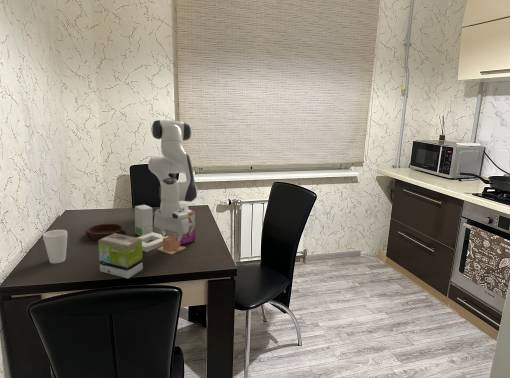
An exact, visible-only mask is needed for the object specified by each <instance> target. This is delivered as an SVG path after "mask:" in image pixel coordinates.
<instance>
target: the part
mask: <svg viewBox="0 0 510 378" xmlns="http://www.w3.org/2000/svg"><path fill="white" fill-rule="evenodd" d="M167 236H168V237H166V238H163V246H162V247H163V249H164V250H167V251H171V250H174V249H176V248H178V247H180V246H181V245H180V241H176V237H178V236H175V235H173V234H171V235H167Z"/></svg>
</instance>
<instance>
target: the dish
mask: <svg viewBox="0 0 510 378" xmlns="http://www.w3.org/2000/svg"><path fill="white" fill-rule="evenodd" d="M124 229H125V228H124V226H123V225H121V224H118V223H103V224H102V223H101V224H96V225H93V226H90V227H88V228H87V229H86V230H85V231H84V233H85V235H86V236H88V237H90V238H91V239H92V240H93V241H98V240H100V239H102V238H105V237H107V236H109V235H111V234H114V233H116V234H121V235H126V236H127V231H125V230H124Z"/></svg>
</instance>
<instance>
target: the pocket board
mask: <svg viewBox="0 0 510 378" xmlns="http://www.w3.org/2000/svg"><path fill="white" fill-rule="evenodd" d="M168 236H169V235H167V236H166V237H168ZM166 237H162V233H157V232H154V231H152V233H149V234H146V235H143V236H140V235H139V236H137V238H141V239H142V252H145V253H148V252H150V251H152V250H155V249H156V250H157V249H158V248H160V247H163V238H166Z"/></svg>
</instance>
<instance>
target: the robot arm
mask: <svg viewBox="0 0 510 378" xmlns="http://www.w3.org/2000/svg"><path fill="white" fill-rule="evenodd" d="M150 129H151V130H150V131H151V134H152V137H153V138H154V139H157V140H160V141H161V142H160V150H161V154H162V155H158V156H153V157H150V159H149V160H148V164H147V166H148V170H149V171H150V172H151V173H152V174H153V175H155V176H156V177H157V179H158V181H159V183H160V186H159V188H158V189H159V191H158V194H159V199H160V208H157V209H155V211H154V216H153V217H154V219H153V226H154V227H155V228H157V229H158V228H159V231H160V234H161V235H162V237H166V236H168V233H167V232H166V231H169V232H172V233H173V232H177V234H178V237H176V241H180V240H181V236H182V234H185V233H187V232H188V231H189V221H188V218H187V217H188V213H187V212H186V211H188V210H190V209H189V204H188V203H187V202H189V203H192V202H194V201H195V199H197V197H198V187H197V184H196V181H195V177H194V176H195V175H194V170H193V166H192V162H191V158H190V155H189V153H187V152H186V151H185V149H184V146H183V145H184V144H183V143H184V142H185V141H188V140H190V138H191V136H192V133H193V129H192V125H191V124H190V123H189V122H186V121H179V120H174V119H173V120H161V119H158V120H154V121H153V122H152V125H151V127H150ZM183 141H184V142H183ZM183 173H184V174H185V179H186V181H179V180H178V179H177V178H173V177H171V176H169V174H183Z"/></svg>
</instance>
